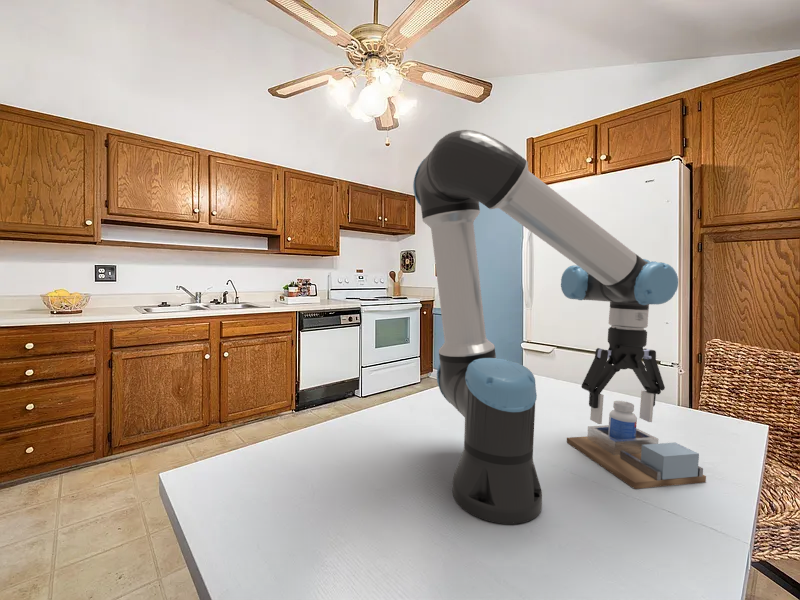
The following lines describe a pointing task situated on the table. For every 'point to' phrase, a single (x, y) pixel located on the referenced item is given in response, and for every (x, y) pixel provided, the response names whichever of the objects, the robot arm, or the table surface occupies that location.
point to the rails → (646, 466)
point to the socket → (619, 440)
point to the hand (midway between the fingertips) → (621, 421)
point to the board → (625, 466)
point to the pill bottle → (622, 421)
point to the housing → (671, 460)
